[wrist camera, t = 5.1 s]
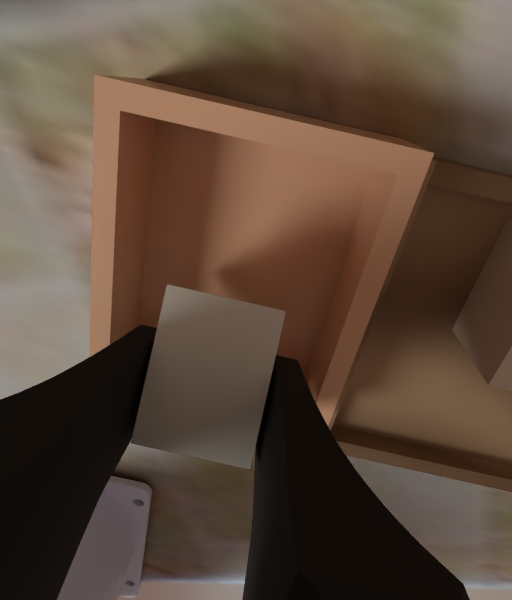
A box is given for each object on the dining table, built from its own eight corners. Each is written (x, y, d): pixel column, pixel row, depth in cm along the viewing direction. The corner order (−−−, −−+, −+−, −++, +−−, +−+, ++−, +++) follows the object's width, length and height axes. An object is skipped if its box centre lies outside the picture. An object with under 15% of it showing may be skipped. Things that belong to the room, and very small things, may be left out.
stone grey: (250, 431, 13) (249, 469, 10) (158, 410, 13) (130, 442, 10) (278, 308, 13) (285, 310, 10) (186, 288, 13) (166, 284, 10)
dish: (313, 392, 16) (316, 455, 13) (125, 349, 16) (89, 404, 13) (401, 138, 12) (434, 152, 9) (143, 79, 12) (94, 74, 9)
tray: (540, 476, 17) (556, 502, 16) (307, 424, 17) (307, 446, 16) (735, 227, 12) (777, 239, 11) (404, 150, 12) (415, 156, 11)
